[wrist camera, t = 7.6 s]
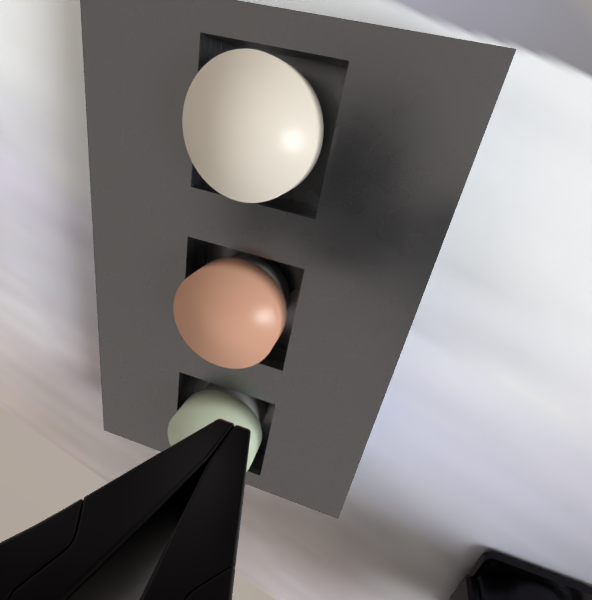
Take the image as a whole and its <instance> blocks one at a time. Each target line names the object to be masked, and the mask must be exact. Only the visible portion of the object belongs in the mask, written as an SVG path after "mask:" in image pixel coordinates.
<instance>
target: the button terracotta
mask: <svg viewBox="0 0 592 600" xmlns="http://www.w3.org/2000/svg"><path fill="white" fill-rule="evenodd" d="M288 303H289V287H288V283H287V281H286V278H285V277H284V275H283V273H282V272H281V270H280V269H279V268H278V267H277V266H276V265H275V264H274V263H272V262H271V261H270V260H268V259H266V258H263V257H260V256H256V255H252V254H241V255H237V256H234V257H226V258H219V259H216V260H213V261H211V262H209V263H207V264H206V265H204V266H203V267H202V268H200V269H199V270H197V271H196V272H194V273H193V274H191V275H190V276H189V277H187V278H186V279H185V280H184V281H183V282H182V283H181V285H180V286H179V288H178V290H177V292H176V294H175V298H174V305H173V312H174V318H175V322H176V325H177V328H178V330H179V332H180V334H181V336H182V338H183V339H184V341H185V342H186V343H187V344H188V346H189V347H190V348H191V349H192V350H193V351H194V352H195V353H197V354H198V355H199V356H200V357H202V358H203V359H205V360H207V361H208V362H210V363H212V364H215V365H218V366H221V367H225V368H231V369H240V368H247V367H250V366H253V365H255V364H257V363H259V362H261V361H262V360H263V359H264V358H265V357H266V356H267V355H268V354H269V353H270V351H271V350H272V348H273V346H274V345H275V343H276V342H277V340H278V338H279V337H280V335H281V333H282V332H283V329H284V327H285V324H286V318H287V306H288Z"/></svg>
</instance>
